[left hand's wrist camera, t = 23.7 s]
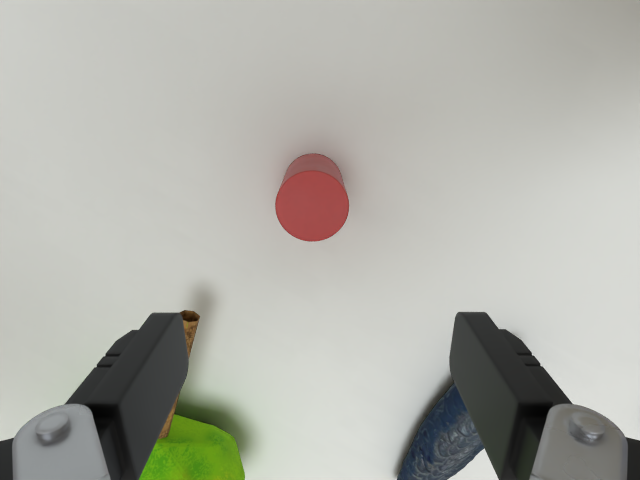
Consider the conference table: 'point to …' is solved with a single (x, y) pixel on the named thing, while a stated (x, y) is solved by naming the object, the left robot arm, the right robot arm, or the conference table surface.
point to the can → (312, 198)
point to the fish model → (442, 441)
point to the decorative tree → (192, 442)
